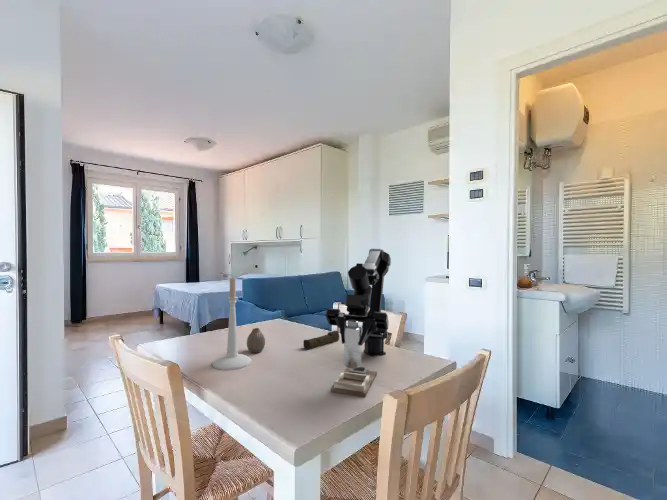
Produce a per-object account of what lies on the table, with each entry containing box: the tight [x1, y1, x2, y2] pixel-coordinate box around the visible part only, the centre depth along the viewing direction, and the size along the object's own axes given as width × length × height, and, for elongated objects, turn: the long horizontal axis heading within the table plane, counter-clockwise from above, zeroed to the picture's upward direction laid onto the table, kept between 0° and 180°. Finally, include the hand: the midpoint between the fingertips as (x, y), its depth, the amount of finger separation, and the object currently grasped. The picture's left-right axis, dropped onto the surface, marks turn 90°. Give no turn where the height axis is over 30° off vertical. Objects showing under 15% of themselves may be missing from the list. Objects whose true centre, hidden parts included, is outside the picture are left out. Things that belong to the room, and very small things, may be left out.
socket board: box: [330, 365, 378, 398], centre depth 103 cm, size 17×10×2 cm, turn 162°
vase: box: [246, 327, 266, 354], centre depth 131 cm, size 7×7×9 cm
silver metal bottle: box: [343, 320, 362, 368], centre depth 99 cm, size 5×5×13 cm
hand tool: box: [302, 330, 340, 350], centre depth 141 cm, size 19×4×5 cm, turn 133°
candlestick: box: [212, 277, 252, 371], centre depth 118 cm, size 13×13×30 cm
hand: (351, 343), depth 98 cm, fingers closed on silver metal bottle, 5 cm apart
